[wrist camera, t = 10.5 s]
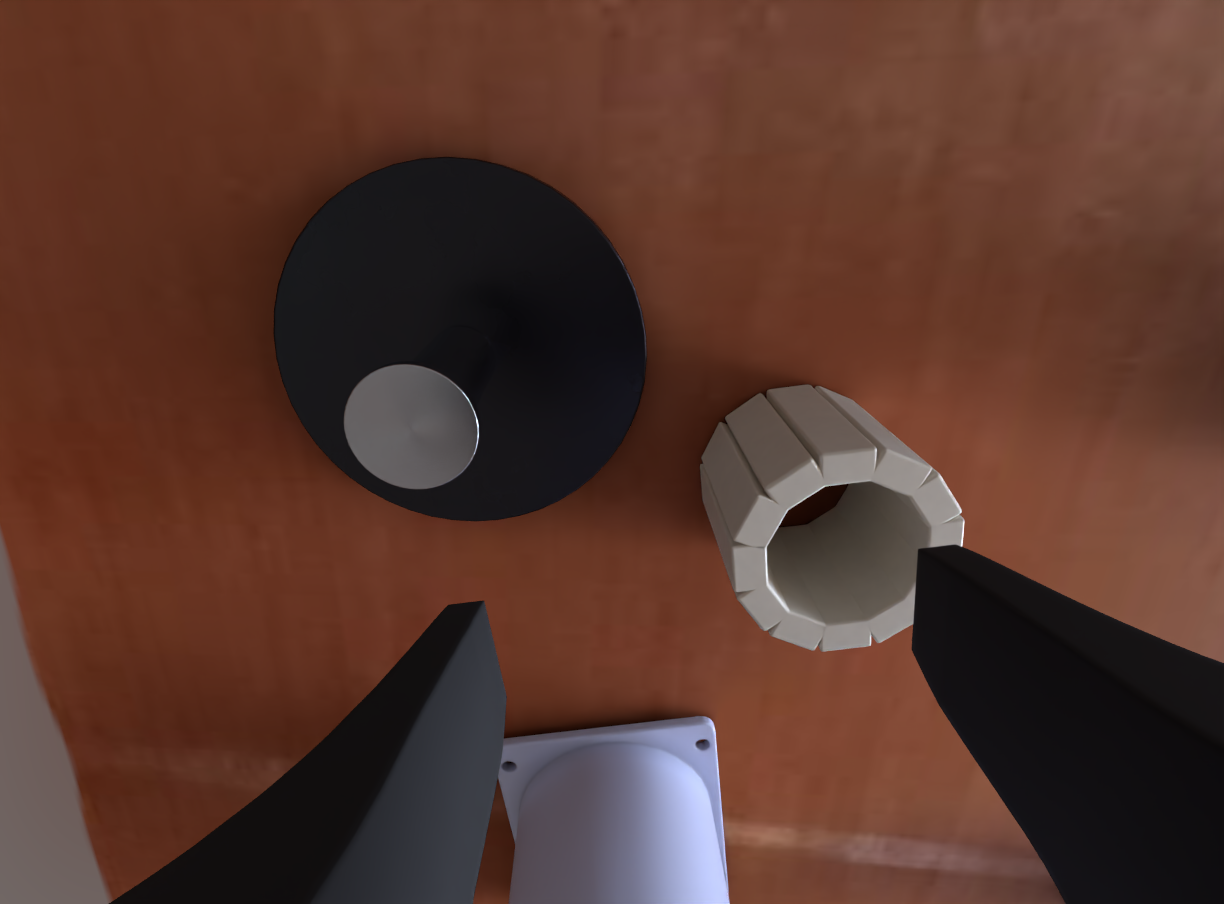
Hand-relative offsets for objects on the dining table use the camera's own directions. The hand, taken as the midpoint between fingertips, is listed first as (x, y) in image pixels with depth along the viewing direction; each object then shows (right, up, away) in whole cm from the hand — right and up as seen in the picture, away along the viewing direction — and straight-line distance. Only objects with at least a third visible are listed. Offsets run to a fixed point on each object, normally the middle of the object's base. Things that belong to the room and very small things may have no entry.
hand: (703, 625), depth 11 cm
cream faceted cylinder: (+4, +2, +9) cm, 10 cm away
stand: (-6, +6, +8) cm, 11 cm away
